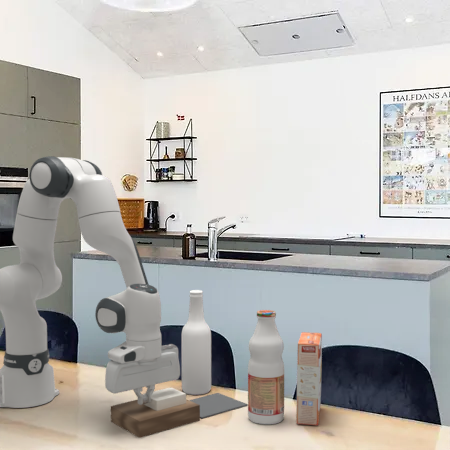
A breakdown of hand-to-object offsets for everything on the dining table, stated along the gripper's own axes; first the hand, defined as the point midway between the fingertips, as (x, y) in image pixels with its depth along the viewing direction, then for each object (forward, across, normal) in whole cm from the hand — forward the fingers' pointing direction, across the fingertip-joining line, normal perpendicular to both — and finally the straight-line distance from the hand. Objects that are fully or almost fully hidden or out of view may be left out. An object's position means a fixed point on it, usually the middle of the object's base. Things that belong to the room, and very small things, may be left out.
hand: (144, 403), depth 150 cm
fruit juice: (+6, -26, +17) cm, 32 cm away
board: (+5, -3, 0) cm, 6 cm away
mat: (+5, -21, 0) cm, 22 cm away
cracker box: (+6, -37, +22) cm, 43 cm away
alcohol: (+6, -26, -13) cm, 30 cm away
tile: (+1, -6, 0) cm, 6 cm away
